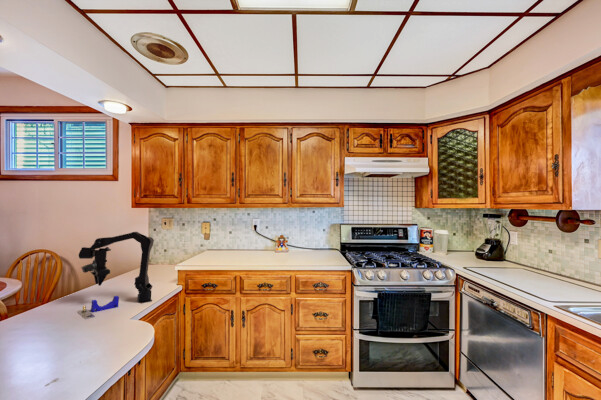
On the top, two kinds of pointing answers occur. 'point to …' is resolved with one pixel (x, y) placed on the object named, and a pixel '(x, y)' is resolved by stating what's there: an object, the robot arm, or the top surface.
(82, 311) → the steel strip
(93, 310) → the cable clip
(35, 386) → the top surface
